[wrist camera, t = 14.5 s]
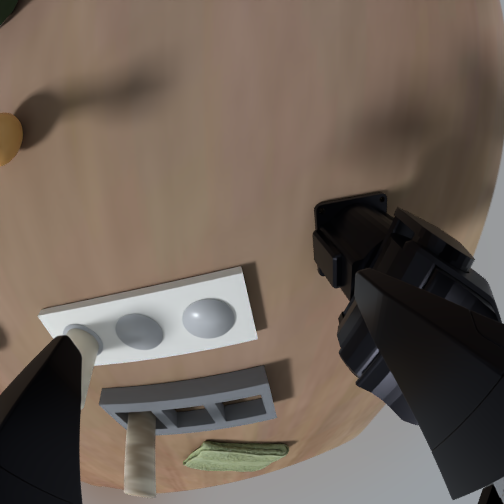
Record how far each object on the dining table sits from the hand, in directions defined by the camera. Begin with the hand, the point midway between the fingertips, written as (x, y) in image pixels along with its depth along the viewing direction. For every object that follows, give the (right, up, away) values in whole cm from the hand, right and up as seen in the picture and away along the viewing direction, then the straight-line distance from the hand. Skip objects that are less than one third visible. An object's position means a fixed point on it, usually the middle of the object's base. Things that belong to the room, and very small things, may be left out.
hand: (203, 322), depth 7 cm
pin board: (-7, -17, +23) cm, 29 cm away
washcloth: (-2, -36, +35) cm, 50 cm away
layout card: (-9, -5, +16) cm, 19 cm away
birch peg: (-13, -18, +23) cm, 32 cm away
